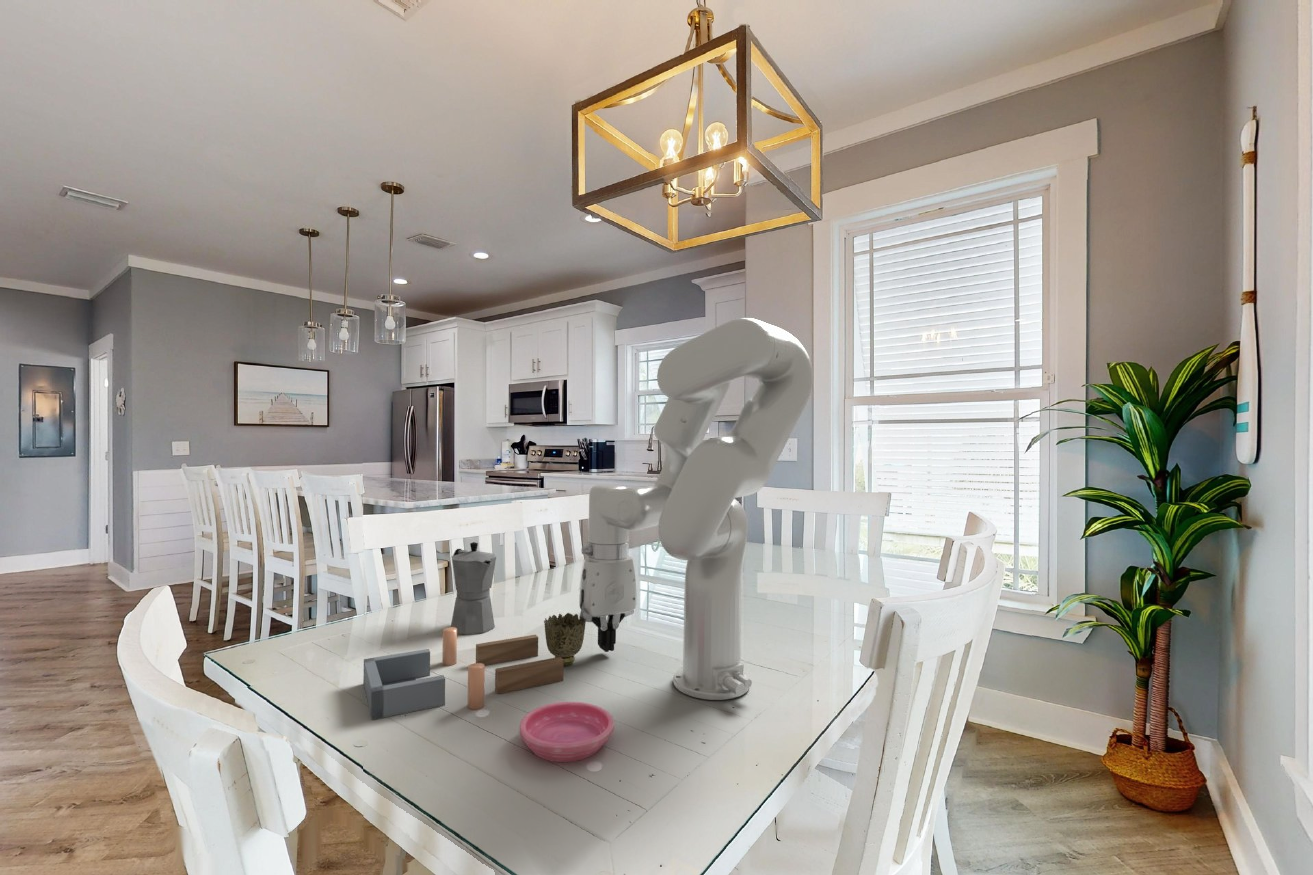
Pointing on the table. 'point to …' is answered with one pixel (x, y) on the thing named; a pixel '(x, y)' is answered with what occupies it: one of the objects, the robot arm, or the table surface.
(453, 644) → the goal posts
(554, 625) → the cup
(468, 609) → the coffeepot
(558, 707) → the pink bowl
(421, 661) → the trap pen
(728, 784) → the table surface
